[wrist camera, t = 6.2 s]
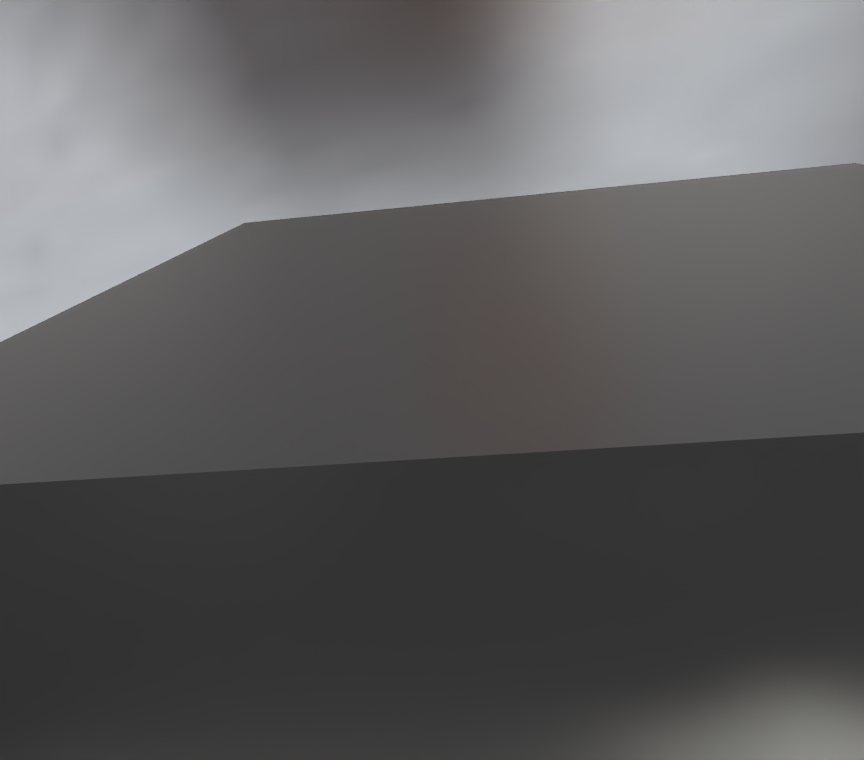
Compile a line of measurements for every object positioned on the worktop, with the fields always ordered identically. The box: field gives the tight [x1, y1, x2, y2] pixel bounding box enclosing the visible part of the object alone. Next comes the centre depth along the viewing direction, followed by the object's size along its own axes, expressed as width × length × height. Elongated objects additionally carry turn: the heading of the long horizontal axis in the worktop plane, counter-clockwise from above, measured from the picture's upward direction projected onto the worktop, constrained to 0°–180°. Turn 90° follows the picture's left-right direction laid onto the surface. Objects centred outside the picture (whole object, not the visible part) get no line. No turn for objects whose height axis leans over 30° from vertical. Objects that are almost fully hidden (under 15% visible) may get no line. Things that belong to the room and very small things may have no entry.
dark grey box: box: [0, 163, 864, 760], centre depth 7 cm, size 8×8×7 cm
